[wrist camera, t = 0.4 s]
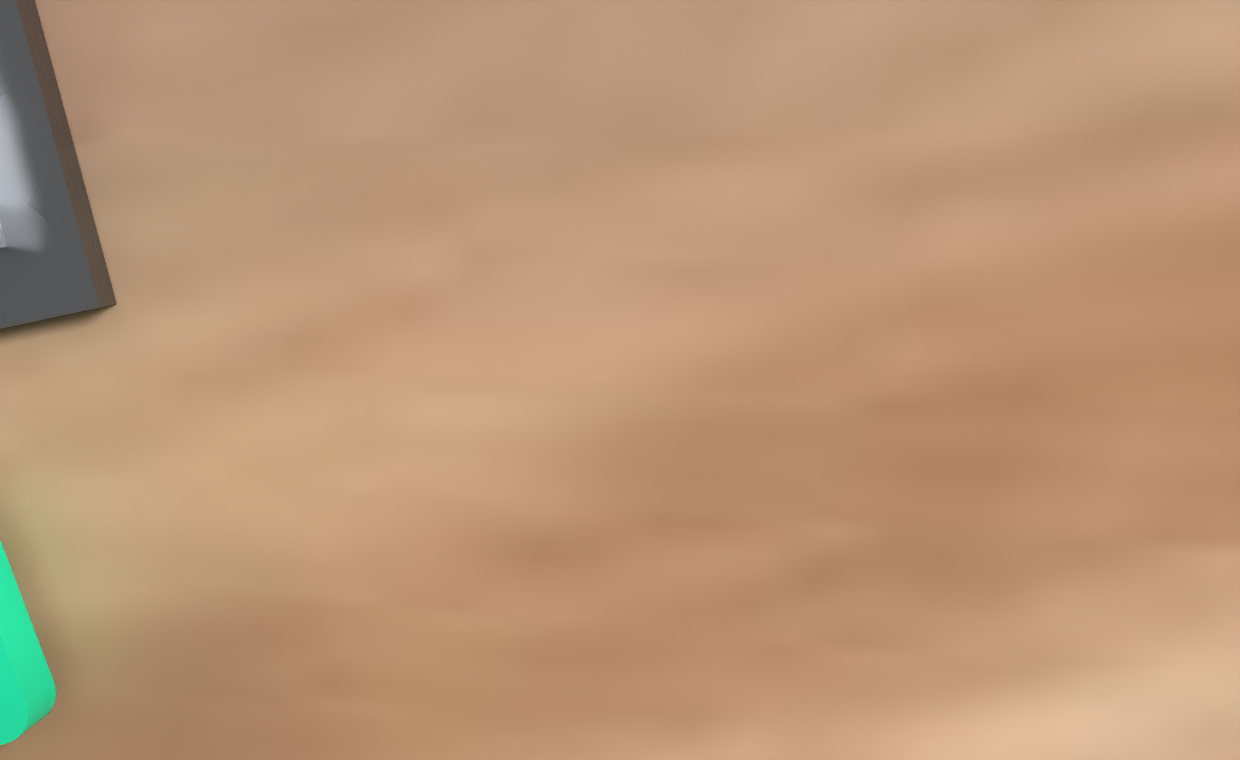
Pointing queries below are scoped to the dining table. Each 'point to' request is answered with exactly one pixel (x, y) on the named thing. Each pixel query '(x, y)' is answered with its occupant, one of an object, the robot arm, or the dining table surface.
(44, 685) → the camera mount
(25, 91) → the plate
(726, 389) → the dining table surface
